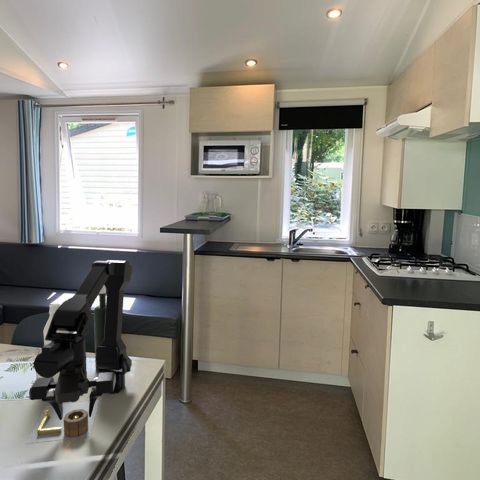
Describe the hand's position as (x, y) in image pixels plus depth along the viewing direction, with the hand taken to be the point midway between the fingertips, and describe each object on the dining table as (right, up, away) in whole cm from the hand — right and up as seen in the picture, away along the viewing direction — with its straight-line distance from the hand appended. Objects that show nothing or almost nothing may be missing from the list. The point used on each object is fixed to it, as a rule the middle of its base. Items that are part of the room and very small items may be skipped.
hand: (75, 417), depth 92 cm
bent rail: (-7, -3, +3) cm, 8 cm away
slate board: (-4, -4, +5) cm, 7 cm away
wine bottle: (-5, 0, +34) cm, 34 cm away
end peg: (0, -4, +1) cm, 4 cm away
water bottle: (-17, -1, +25) cm, 30 cm away
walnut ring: (0, -3, 0) cm, 3 cm away
